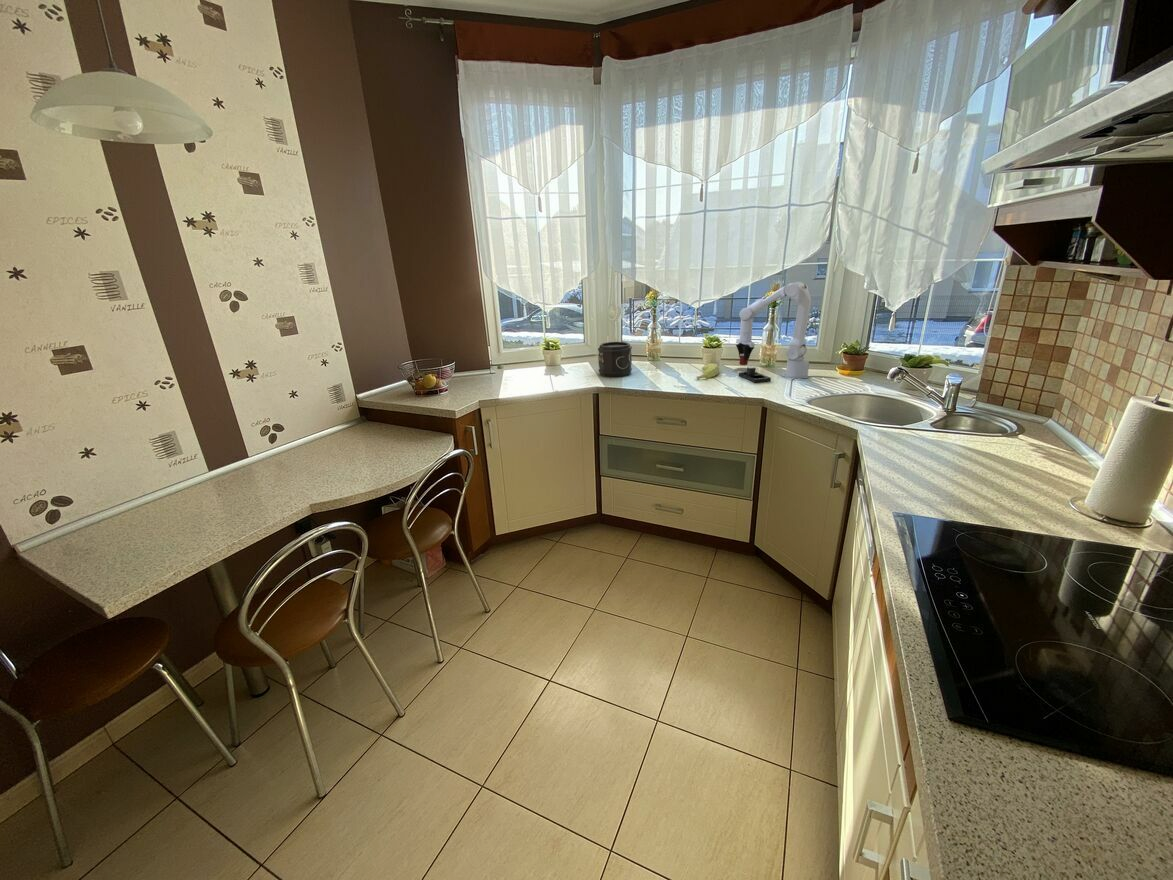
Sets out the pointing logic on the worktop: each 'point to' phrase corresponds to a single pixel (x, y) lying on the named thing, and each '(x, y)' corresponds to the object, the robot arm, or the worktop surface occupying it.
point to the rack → (755, 377)
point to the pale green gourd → (709, 371)
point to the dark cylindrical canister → (615, 359)
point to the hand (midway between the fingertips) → (743, 358)
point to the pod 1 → (742, 361)
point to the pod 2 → (751, 370)
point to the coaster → (741, 369)
